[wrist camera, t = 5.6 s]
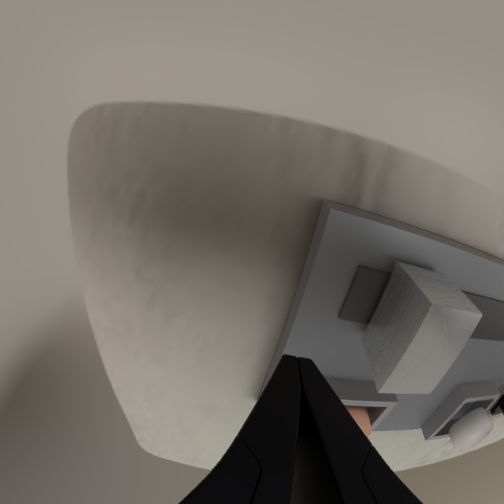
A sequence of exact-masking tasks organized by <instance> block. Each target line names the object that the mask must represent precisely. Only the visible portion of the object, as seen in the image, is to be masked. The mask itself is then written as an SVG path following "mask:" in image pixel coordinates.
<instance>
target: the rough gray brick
mask: <svg viewBox="0 0 504 504" xmlns="http://www.w3.org/2000/svg"><path fill="white" fill-rule="evenodd" d="M482 315H483V314H482V313H481V312H480V310H479V309H478V308H477V307H476V306H475V305H474V304H473V303H472V302H471V301H470V300H469V299H468V297H467V296H466V295H465V294H464V293H463V292H462V291H461V290H460V289H459V288H458V287H457V286H456V285H455V284H454V283H453V282H452V281H451V280H450V279H449V278H448V277H447V276H446V275H445V274H442V273H438V272H435V271H431V270H427V269H424V268H420V267H416V266H413V265H409V264H405V263H402V262H398V261H397V262H396V265H395V267H394V270H393V272H392V275H391V277H390V279H389V282H388V284H387V286H386V289H385V291H384V293H383V295H382V298H381V300H380V302H379V304H378V306H377V308H376V311H375V313H374V315H373V317H372V319H371V321H370V323H369V325H368V327H367V329H366V331H365V333H364V335H363V337H362V339H361V341H362V344H363V347H364V350H365V353H366V356H367V359H368V362H369V365H370V369H371V372H372V375H373V378H374V381H375V385H376V388H377V391H378V393H396V394H430V393H431V392H432V391H433V389H434V388H435V387H436V386H437V384H438V383H439V382H440V380H441V379H442V378H443V376H444V375H445V374H446V372H447V371H448V369H449V368H450V367H451V365H452V364H453V362H454V361H455V359H456V358H457V356H458V355H459V354H460V352H461V350H462V349H463V347H464V346H465V344H466V343H467V341H468V339H469V338H470V336H471V335H472V333H473V331H474V329H475V328H476V326H477V324H478V323H479V321H480V319H481V317H482Z"/></svg>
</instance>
